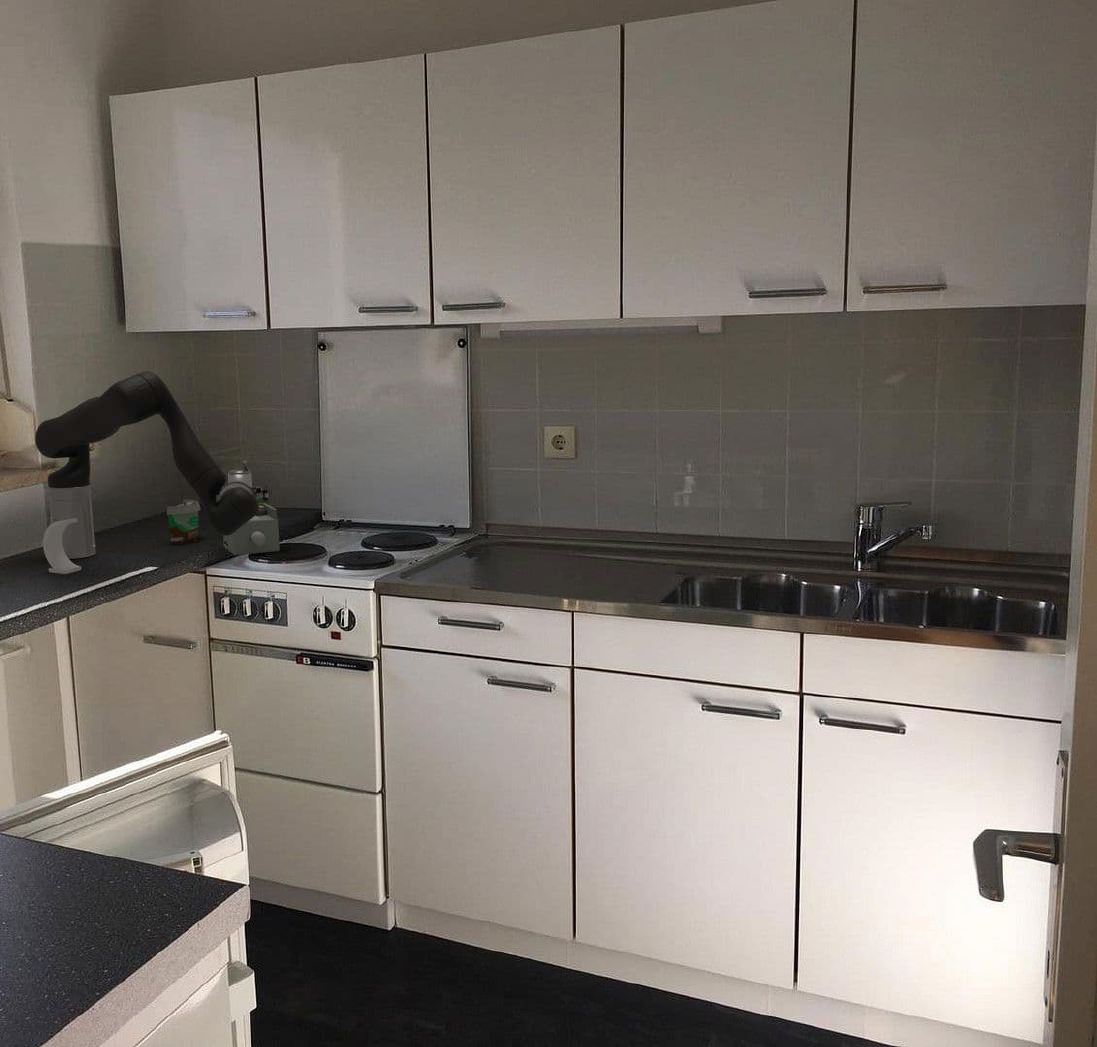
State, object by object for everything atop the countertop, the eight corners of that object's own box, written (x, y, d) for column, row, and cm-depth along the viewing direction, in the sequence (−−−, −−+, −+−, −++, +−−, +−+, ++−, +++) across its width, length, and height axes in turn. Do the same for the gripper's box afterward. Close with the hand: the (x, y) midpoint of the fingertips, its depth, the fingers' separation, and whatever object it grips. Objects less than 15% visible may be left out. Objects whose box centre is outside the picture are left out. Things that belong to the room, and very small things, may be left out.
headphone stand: (65, 574, 238) (60, 521, 236) (45, 571, 241) (40, 519, 239) (81, 569, 243) (77, 518, 240) (61, 567, 245) (57, 516, 243)
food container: (193, 545, 271) (190, 506, 269) (169, 545, 271) (166, 506, 269) (209, 536, 283) (206, 499, 281) (186, 536, 283) (183, 499, 281)
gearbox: (237, 557, 255) (235, 515, 254) (223, 546, 268) (221, 506, 266) (282, 553, 261) (280, 511, 259) (267, 542, 274) (265, 502, 272)
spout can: (232, 520, 259) (229, 463, 257) (227, 516, 264) (224, 460, 262) (256, 518, 262) (253, 461, 260) (250, 514, 267) (248, 459, 264)
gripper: (268, 482, 239) (268, 473, 254) (202, 485, 236) (206, 476, 251) (270, 515, 240) (270, 504, 256) (204, 518, 237) (208, 507, 252)
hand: (239, 490), depth 253 cm, fingers open, 8 cm apart
